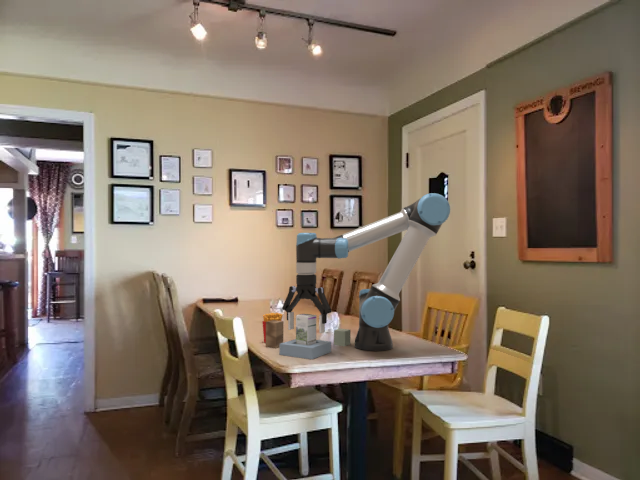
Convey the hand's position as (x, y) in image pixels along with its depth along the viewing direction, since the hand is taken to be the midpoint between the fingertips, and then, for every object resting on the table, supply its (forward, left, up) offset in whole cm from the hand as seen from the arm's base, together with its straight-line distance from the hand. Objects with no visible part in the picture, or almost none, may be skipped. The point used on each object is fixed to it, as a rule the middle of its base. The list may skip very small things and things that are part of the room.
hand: (306, 330), depth 180 cm
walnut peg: (+17, -4, -8) cm, 19 cm away
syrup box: (0, 0, -9) cm, 9 cm away
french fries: (+23, -11, -9) cm, 27 cm away
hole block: (0, 0, -8) cm, 8 cm away
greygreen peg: (-4, -22, -8) cm, 24 cm away
